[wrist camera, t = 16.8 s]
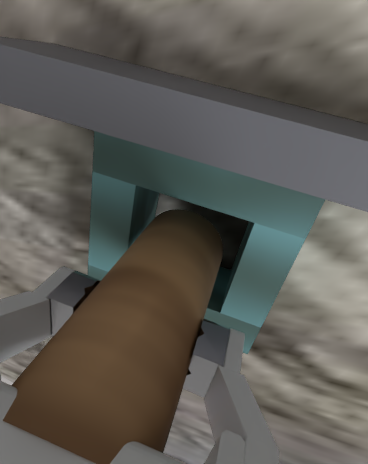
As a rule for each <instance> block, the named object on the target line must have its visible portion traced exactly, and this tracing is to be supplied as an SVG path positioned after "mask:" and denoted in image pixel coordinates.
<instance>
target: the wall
mask: <svg viewBox="0 0 368 464" xmlns="http://www.w3.org/2000/svg"><path fill="white" fill-rule="evenodd" d="M0 103H2V104H5V105H8V106H12V107H15V108H19V109H22V110H25V111H29V112H32V113H35V114H39V115H42V116H46V117H49V118H52V119H56V120H59V121H62V122H66V123H69V124H73V125H76V126H79V127H83V128H86V129H89V130H93V131H96V132H100V133H103V134H106V135H110V136H113V137H116V138H120V139H123V140H127V141H130V142H133V143H137V144H140V145H143V146H147V147H150V148H154V149H157V150H160V151H164V152H167V153H170V154H174V155H177V156H181V157H184V158H187V159H191V160H194V161H197V162H201V163H204V164H208V165H211V166H214V167H218V168H221V169H224V170H228V171H231V172H235V173H238V174H241V175H245V176H248V177H251V178H255V179H258V180H262V181H265V182H268V183H272V184H275V185H278V186H282V187H285V188H289V189H292V190H295V191H299V192H302V193H306V194H309V195H312V196H316V197H319V198H322V199H326V200H329V201H333V202H336V203H339V204H343V205H346V206H349V207H353V208H356V209H360V210H363V211H366V212H368V124H365V123H361V122H357V121H353V120H349V119H346V118H342V117H338V116H334V115H330V114H326V113H322V112H318V111H314V110H310V109H307V108H303V107H299V106H295V105H291V104H287V103H283V102H279V101H275V100H271V99H268V98H264V97H260V96H256V95H252V94H248V93H244V92H240V91H236V90H232V89H229V88H225V87H221V86H217V85H213V84H209V83H205V82H201V81H197V80H194V79H190V78H186V77H182V76H178V75H174V74H170V73H166V72H162V71H158V70H155V69H151V68H147V67H143V66H139V65H135V64H131V63H127V62H123V61H119V60H116V59H112V58H108V57H104V56H100V55H96V54H92V53H88V52H84V51H80V50H77V49H73V48H69V47H65V46H61V45H57V44H53V43H45V42H38V41H30V40H22V39H14V38H6V37H0Z"/></svg>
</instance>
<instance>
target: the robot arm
mask: <svg viewBox="0 0 368 464" xmlns="http://www.w3.org/2000/svg"><path fill="white" fill-rule="evenodd" d="M99 282H100V280H98V279H96V278H93V277H91V276H88V275H86V274H83V273H81V272H78V271H75V270H72V269H70V268H67V267H65V266H63V267H61V268H59V269H58V270H57V271H56V272H55V273H53V274H52V275H51V276H50V277H49V278H48V279H47V280H46V281H44V282H43V283H42V284H41V285H40V286H39V287H38V288H37V289H35V290H34V291H33V292H30V291H27V292H24V293H20V294H17V295H14V296H10V297H7V298H4V299H0V363H1V362H3V361H5V360H7V359H9V358H11V357H13V356H15V355H16V354H18V353H20V352H22V351H24V350H26V349H28V348H30V347H32V346H34V345H36V344H38V343H40V342H42V341H43V340H45V339H47V338H49V337H51V335H52V336H54V335H55V334H56V333H57V332H58V330H59V329H60V328H61V327H62V326H63V325H64V323H65V322H66V321H67V320H68V319H69V318H70V316H71V315H72V314H73V313H74V312H75V311H76V309H77V308H78V307H79V306H80V305H81V304H82V302H83V301H84V300H85V299H86V298H87V297H88V295H89V294H90V293H91V292H92V291H93V289H94V288H95V287H96V286H97V285H98V284H99ZM244 339H245V334H244V333H242V332H240V331H237V330H234V329H231V328H229V327H226V326H223V325H220V324H218V323H215V322H212V321H209V320H206V319H203V321H202V324H201V328H200V331H199V334H198V338H197V341H196V344H195V347H194V350H193V353H192V357H191V360H190V364H189V369H188V372H187V376H186V379H185V382H184V385H183V389H185V390H188V391H190V392H192V393H194V394H197V395H199V396H201V397H203V398H204V401H205V405H206V409H207V413H208V417H209V421H210V425H211V429H212V433H213V436H214V440H215V445H214V447H213V449H212V451H211V452H210V454H209V456H208V458H207V459H206V461H205V463H204V464H279V449H278V447H277V445H276V443H275V441H274V438H273V436H272V434H271V432H270V430H269V428H268V425H267V423H266V421H265V419H264V417H263V415H262V412H261V410H260V408H259V406H258V404H257V402H256V400H255V397H254V395H253V393H252V391H251V389H250V387H249V384H248V382H247V380H246V378H245V376H244V375H242V374H240V370H241V362H242V354H243V347H244ZM16 395H17V388H15V387H13V386H11V385H8V384H6V383H4V382H2V381H1V374H0V464H96V463H93V462H91V461H89V460H87V459H85V458H83V457H80V456H78V455H76V454H74V453H72V452H70V451H67V450H65V449H63V448H61V447H59V446H57V445H54V444H52V443H50V442H48V441H46V440H43V439H41V438H39V437H37V436H35V435H33V434H30V433H28V432H26V431H24V430H22V429H20V428H17V427H15V426H13V425H11V424H9V423H7V422H4V421H3V419H4V417H5V415H6V414H7V412H8V410H9V408H10V407H11V405H12V403H13V401H14V400H15V398H16ZM110 464H186V463H184V462H182V461H180V460H177V459H175V458H173V457H171V456H168V455H166V454H164V453H162V452H159V451H157V450H155V449H153V448H150V447H148V446H146V445H144V444H141V443H139V442H134V441H132V442H129V443H127V444H125V445H124V446H123V448H122V449H121V450H120V451H119V453H118V454H117V455H116V457H115V458H114V459H113V460H112V462H111V463H110Z"/></svg>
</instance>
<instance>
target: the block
mask: <svg viewBox="0 0 368 464" xmlns="http://www.w3.org/2000/svg"><path fill="white" fill-rule="evenodd" d="M159 193H162V194H165V195H168V196H171V197H174V198H178V199H181V200H184V201H187V202H190V203H193V204H196V205H200V206H203V207H206V208H209V209H212V210H215V211H219V212H222V213H225V214H228V215H231V216H234V217H237V218H241V219H244V220H247V221H249V223H248V225H247V228H246V231H245V234H244V236H243V239H242V242H241V244H240V247H239V250H238V252H237V255H236V258H235V261H234V263H233V266H232V269H231V270H229V269H226V268H223V267H219V270H218V273H217V277H216V280H215V283H214V286H213V290H212V293H211V296H210V300H209V303H208V306H207V310H206V313H205V316H204V319H206V320H209V321H212V322H215V323H218V324H220V325H223V326H226V327H229V328H231V329H234V330H237V331H240V332H242V333H244V334H245V339H244V347H243V353H246V354H248V352H249V350H250V348H251V346H252V344H253V342H254V340H255V338H256V336H257V334H258V332H259V330H260V328H261V326H262V324H263V322H264V320H265V318H266V316H267V315H268V313H269V311H270V309H271V307H272V305H273V303H274V301H275V299H276V297H277V295H278V293H279V291H280V289H281V287H282V285H283V283H284V281H285V279H286V277H287V275H288V273H289V271H290V269H291V267H292V265H293V263H294V261H295V259H296V257H297V255H298V253H299V251H300V249H301V247H302V245H303V243H304V241H305V239H306V237H307V235H308V233H309V231H310V229H311V227H312V225H313V223H314V221H315V219H316V217H317V215H318V213H319V211H320V209H321V207H322V205H323V203H324V201H325V199H322V198H319V197H316V196H312V195H309V194H306V193H302V192H299V191H295V190H292V189H289V188H285V187H282V186H278V185H275V184H272V183H268V182H265V181H262V180H258V179H255V178H251V177H248V176H245V175H241V174H238V173H235V172H231V171H228V170H224V169H221V168H218V167H214V166H211V165H208V164H204V163H201V162H197V161H194V160H191V159H187V158H184V157H181V156H177V155H174V154H170V153H167V152H164V151H160V150H157V149H154V148H150V147H147V146H143V145H140V144H137V143H133V142H130V141H127V140H123V139H120V138H116V137H113V136H110V135H106V134H103V133H100V132H96V131H94V151H93V172H92V194H91V215H90V237H89V258H88V276H91V277H93V278H96V279H98V280H100V281H101V280H102V279H103V278H104V277H105V275H106V274H107V273H108V272H109V271H110V270H111V268H112V267H113V266H114V265H115V264H116V263H117V261H118V260H119V259H120V258H121V257H122V256H123V254H124V253H125V252H126V251H127V250H128V249H129V247H130V246H131V245H132V244H133V243H134V241H135V240H136V239H137V238H138V237H139V236H140V234H141V233H142V232H143V231H144V230H145V229H146V227H147V226H148V225H149V224H150V223H151V222H152V220H153V219H154V218H155V214H156V208H157V203H158V197H159Z"/></svg>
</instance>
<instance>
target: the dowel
mask: <svg viewBox="0 0 368 464" xmlns="http://www.w3.org/2000/svg"><path fill="white" fill-rule="evenodd" d="M222 256H223V244H222V240H221V237H220V235H219V233H218V231H217V230H216V228H215V227H214V226H213V225H212V224H211V223H210V222H209V221H208V220H207V219H205V218H204V217H202V216H201V215H199V214H197V213H194V212H191V211H187V210H169V211H166V212H163V213H161V214H160V215H158V216H157V217H155V218H154V219H153V220H152V222H151V223H150V224H149V225H148V226H147V227H146V229H145V230H144V231H143V232H142V233H141V234H140V236H139V237H138V238H137V239H136V240H135V241H134V243H133V244H132V245H131V246H130V247H129V249H128V250H127V251H126V252H125V253H124V254H123V256H122V257H121V258H120V259H119V260H118V261H117V263H116V264H115V265H114V266H113V267H112V268H111V270H110V271H109V272H108V273H107V274H106V275H105V277H104V278H103V279H102V280H101V281H100V282H99V284H98V285H97V286H96V287H95V288H94V289H93V291H92V292H91V293H90V294H89V295H88V297H87V298H86V299H85V300H84V301H83V302H82V304H81V305H80V306H79V307H78V308H77V309H76V311H75V312H74V313H73V314H72V315H71V316H70V318H69V319H68V320H67V321H66V322H65V323H64V325H63V326H62V327H61V328H60V329H59V330H58V332H57V333H56V334H55V335H54V336H53V338H52V339H51V340H50V341H49V342H48V343H47V345H46V346H45V347H44V348H43V349H42V350H41V352H40V353H39V354H38V355H37V356H36V357H35V359H34V360H33V361H32V362H31V363H30V364H29V366H28V367H27V368H26V369H25V370H24V371H23V373H22V374H21V375H20V376H19V377H18V379H17V380H16V381H15V382H14V383H13V384H12V386H13V387H15V388H17V395H16V398H15V400H14V401H13V403H12V405H11V407H10V408H9V410H8V412H7V414H6V415H5V417H4V419H3V421H4V422H7V423H9V424H11V425H13V426H15V427H17V428H20V429H22V430H24V431H26V432H28V433H30V434H33V435H35V436H37V437H39V438H41V439H43V440H46V441H48V442H50V443H52V444H54V445H57V446H59V447H61V448H63V449H65V450H67V451H70V452H72V453H74V454H76V455H78V456H80V457H83V458H85V459H87V460H89V461H91V462H93V463H96V464H110V463H111V462H112V460H113V459H114V458H115V457H116V455H117V454H118V453H119V451H120V450H121V449H122V448H123V446H124V445H125V444H127V443H129V442H132V441H134V442H139V443H141V444H144V445H146V446H148V447H150V448H153V449H155V450H157V451H159V452H162V453H163V451H164V448H165V445H166V442H167V438H168V435H169V432H170V428H171V425H172V422H173V418H174V415H175V412H176V409H177V405H178V402H179V399H180V395H181V392H182V389H183V385H184V382H185V379H186V376H187V372H188V369H189V364H190V360H191V357H192V353H193V350H194V347H195V344H196V341H197V338H198V334H199V331H200V328H201V324H202V321H203V319H204V316H205V313H206V310H207V306H208V303H209V300H210V296H211V293H212V290H213V286H214V283H215V280H216V277H217V273H218V270H219V267H220V263H221V260H222Z"/></svg>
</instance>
